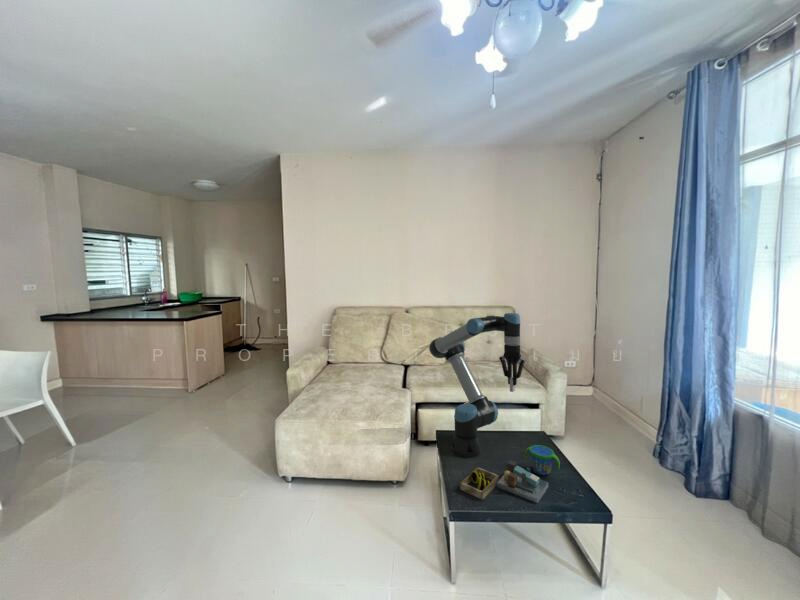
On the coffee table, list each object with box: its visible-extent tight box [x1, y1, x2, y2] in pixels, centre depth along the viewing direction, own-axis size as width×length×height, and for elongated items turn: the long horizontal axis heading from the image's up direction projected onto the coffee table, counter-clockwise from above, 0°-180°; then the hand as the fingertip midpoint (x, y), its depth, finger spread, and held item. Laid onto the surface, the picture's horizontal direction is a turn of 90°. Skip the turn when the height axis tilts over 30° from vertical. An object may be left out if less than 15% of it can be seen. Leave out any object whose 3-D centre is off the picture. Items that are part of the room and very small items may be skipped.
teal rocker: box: [513, 465, 541, 487], centre depth 141 cm, size 10×4×2 cm, turn 49°
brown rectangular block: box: [508, 472, 517, 487], centre depth 139 cm, size 3×3×4 cm
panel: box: [496, 467, 549, 504], centre depth 141 cm, size 17×14×7 cm
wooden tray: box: [459, 467, 500, 501], centre depth 142 cm, size 11×16×3 cm
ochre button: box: [503, 470, 510, 480], centre depth 144 cm, size 3×3×2 cm
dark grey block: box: [507, 460, 517, 473], centre depth 148 cm, size 3×3×4 cm
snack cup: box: [523, 444, 561, 476], centre depth 152 cm, size 16×10×10 cm
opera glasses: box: [470, 470, 490, 491], centre depth 142 cm, size 10×5×5 cm, turn 9°
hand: (512, 391), depth 163 cm, fingers closed
